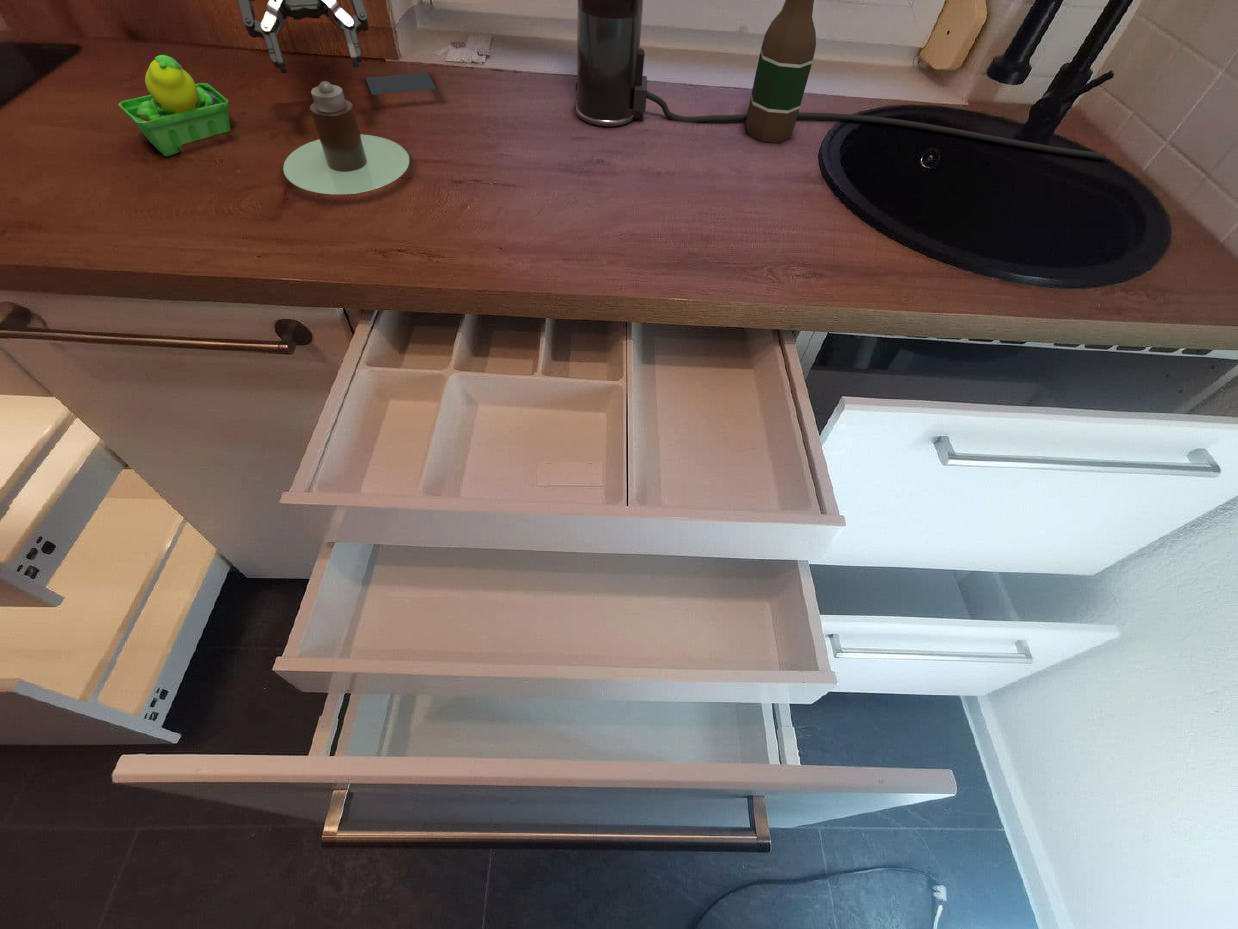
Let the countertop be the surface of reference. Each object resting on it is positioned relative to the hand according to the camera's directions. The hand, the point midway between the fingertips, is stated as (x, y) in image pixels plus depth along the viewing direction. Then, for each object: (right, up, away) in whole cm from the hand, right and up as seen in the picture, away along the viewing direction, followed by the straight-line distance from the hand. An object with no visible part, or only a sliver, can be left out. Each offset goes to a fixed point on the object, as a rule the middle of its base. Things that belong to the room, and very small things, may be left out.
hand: (320, 67), depth 77 cm
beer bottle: (+61, +3, +21) cm, 65 cm away
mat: (+3, +10, +22) cm, 24 cm away
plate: (+1, -10, +6) cm, 12 cm away
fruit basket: (-21, -5, +8) cm, 23 cm away
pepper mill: (+1, -9, +5) cm, 11 cm away
